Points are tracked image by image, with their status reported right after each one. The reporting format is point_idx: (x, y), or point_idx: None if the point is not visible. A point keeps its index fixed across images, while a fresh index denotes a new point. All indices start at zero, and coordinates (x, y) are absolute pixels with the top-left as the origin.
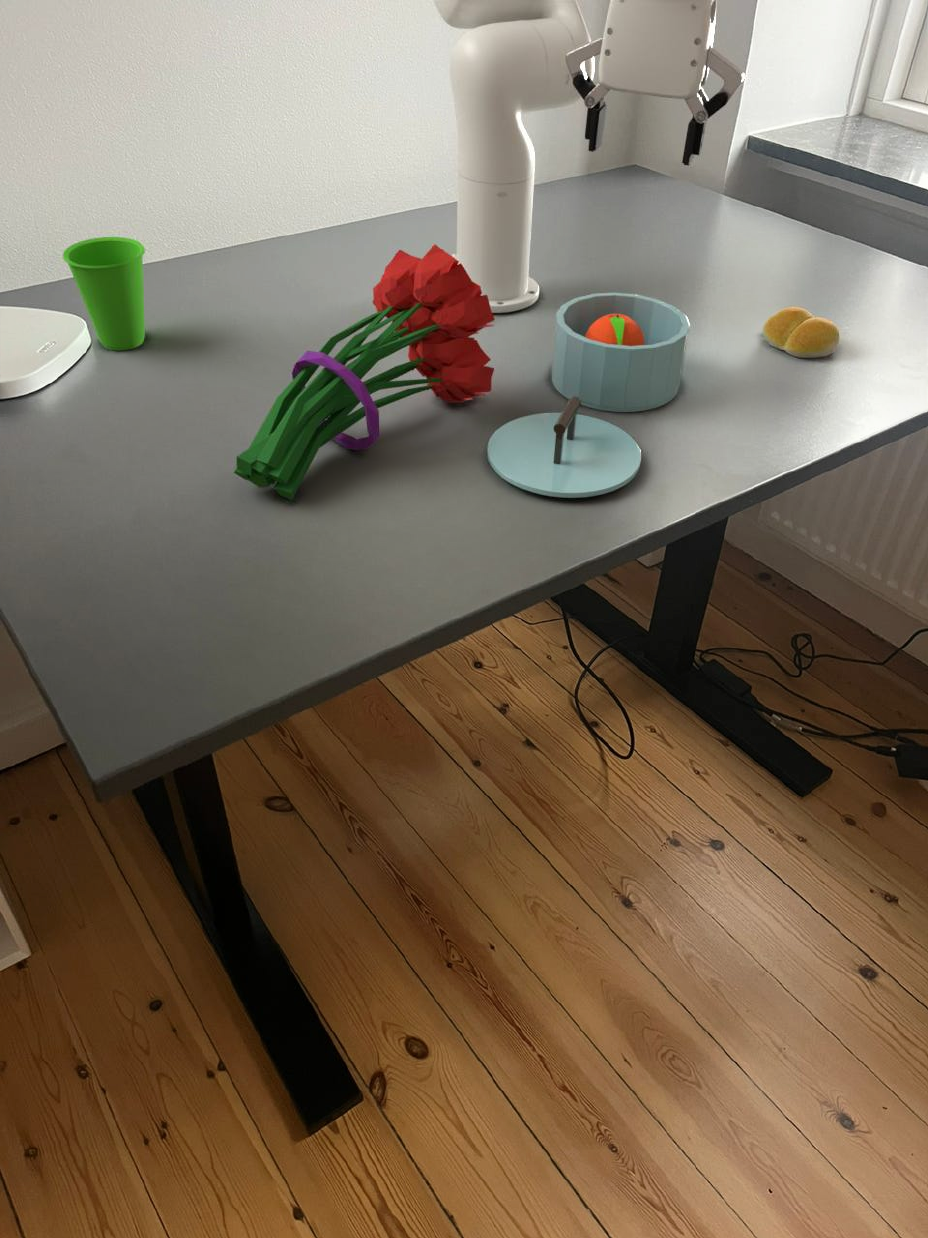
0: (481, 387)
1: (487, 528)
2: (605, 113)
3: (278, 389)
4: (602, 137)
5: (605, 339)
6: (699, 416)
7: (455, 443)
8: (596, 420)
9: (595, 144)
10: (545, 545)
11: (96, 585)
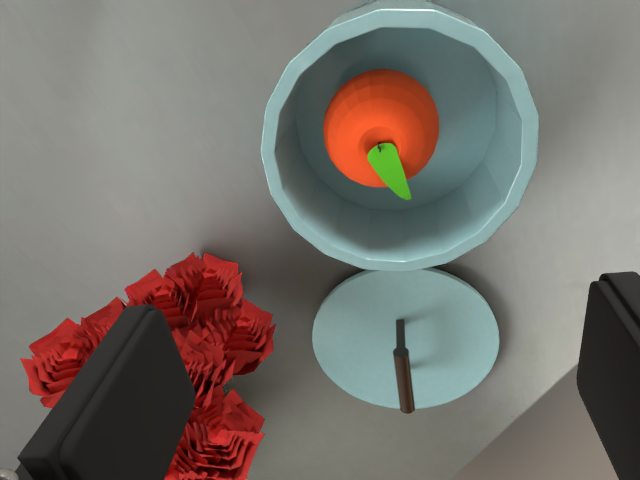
0: (266, 335)
1: (380, 442)
2: (98, 415)
3: (47, 328)
4: (153, 333)
5: (376, 186)
6: (556, 165)
7: (278, 348)
8: (416, 273)
9: (188, 418)
10: (439, 446)
11: None
